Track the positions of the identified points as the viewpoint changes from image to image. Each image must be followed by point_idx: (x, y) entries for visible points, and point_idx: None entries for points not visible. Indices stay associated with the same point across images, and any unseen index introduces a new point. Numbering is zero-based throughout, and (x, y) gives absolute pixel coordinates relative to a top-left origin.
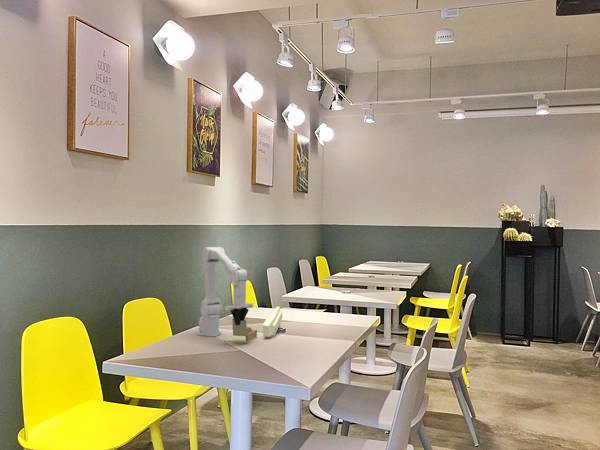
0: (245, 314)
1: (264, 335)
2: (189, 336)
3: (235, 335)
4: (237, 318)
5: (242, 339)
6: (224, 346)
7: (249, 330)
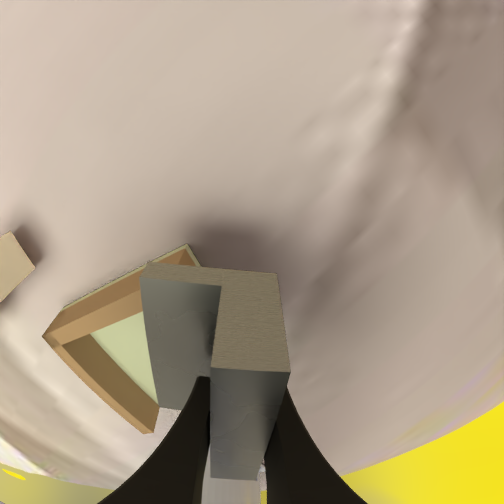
0: (161, 476)
1: (27, 263)
2: None
3: (150, 397)
4: (316, 448)
5: None
6: (371, 286)
7: (175, 267)
